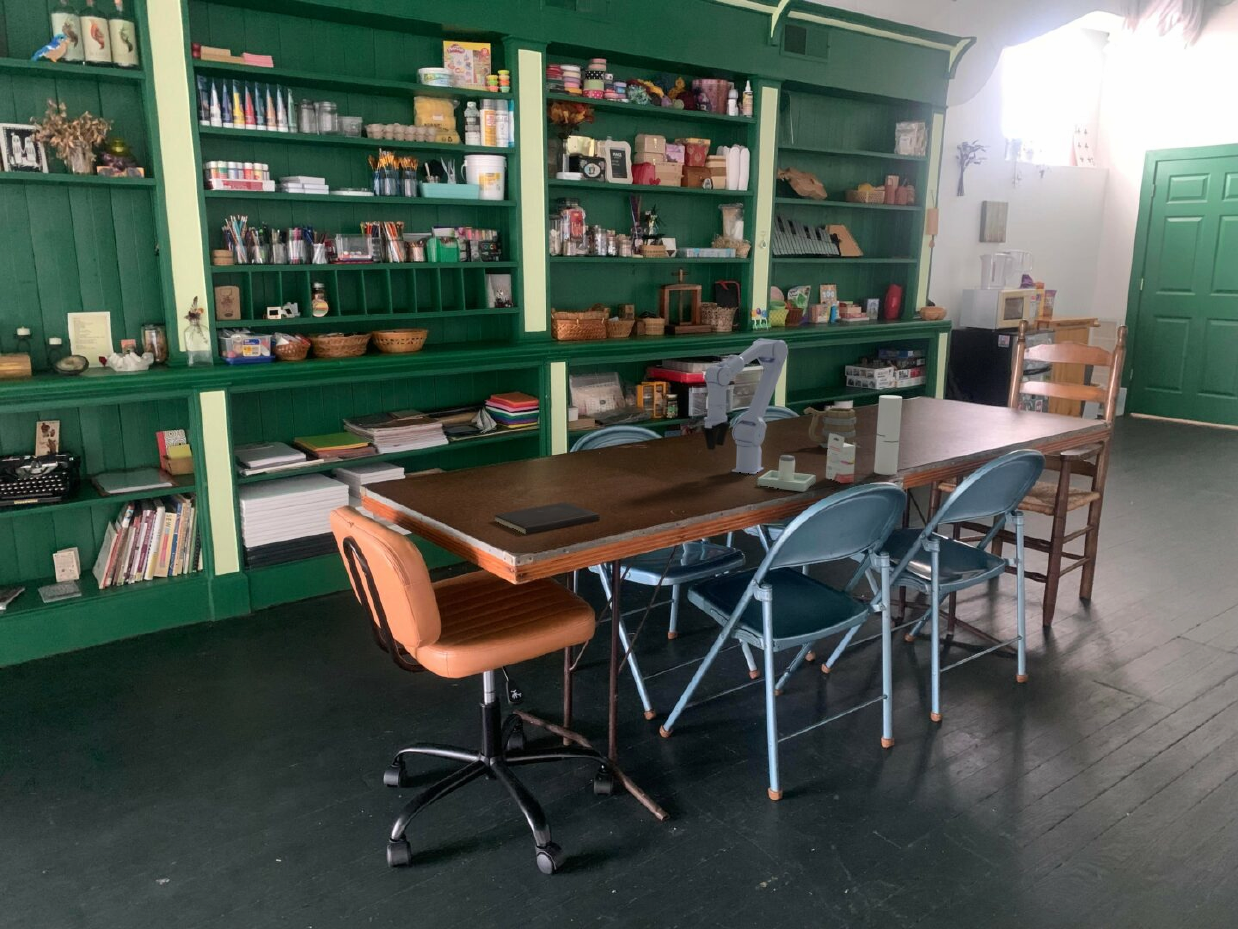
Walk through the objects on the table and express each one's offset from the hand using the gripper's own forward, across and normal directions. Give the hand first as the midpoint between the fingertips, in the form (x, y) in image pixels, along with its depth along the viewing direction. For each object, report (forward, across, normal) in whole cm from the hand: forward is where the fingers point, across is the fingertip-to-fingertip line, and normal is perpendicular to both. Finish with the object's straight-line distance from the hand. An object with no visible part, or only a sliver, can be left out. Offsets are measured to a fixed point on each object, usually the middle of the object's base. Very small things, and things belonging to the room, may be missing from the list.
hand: (715, 447), depth 296 cm
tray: (+10, -2, +23) cm, 25 cm away
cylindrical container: (+10, -34, +47) cm, 59 cm away
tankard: (+10, -68, +19) cm, 71 cm away
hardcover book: (+11, +68, -21) cm, 72 cm away
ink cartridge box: (+10, -16, +36) cm, 41 cm away
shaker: (+9, -2, +23) cm, 25 cm away
